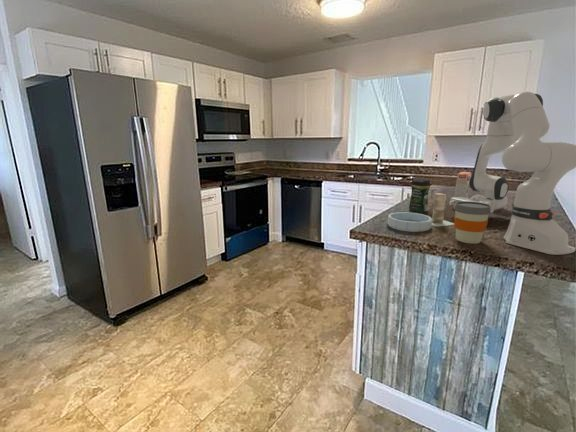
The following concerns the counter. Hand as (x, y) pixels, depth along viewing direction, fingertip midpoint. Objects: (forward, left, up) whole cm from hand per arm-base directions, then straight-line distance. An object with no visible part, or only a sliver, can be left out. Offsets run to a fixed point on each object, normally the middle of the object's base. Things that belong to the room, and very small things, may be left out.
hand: (457, 205), depth 155 cm
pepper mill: (0, +12, -8) cm, 14 cm away
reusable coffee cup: (-25, +20, -8) cm, 33 cm away
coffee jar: (+24, +3, -8) cm, 26 cm away
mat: (0, +12, -8) cm, 14 cm away
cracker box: (+21, -25, -8) cm, 34 cm away
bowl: (0, +29, -8) cm, 30 cm away
